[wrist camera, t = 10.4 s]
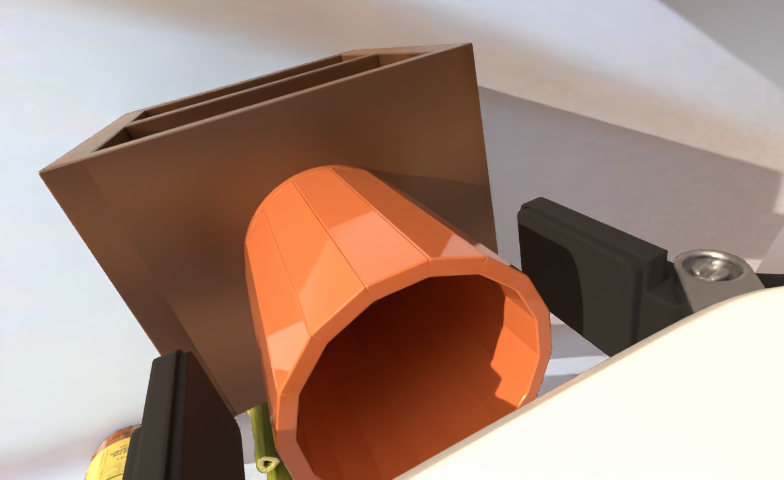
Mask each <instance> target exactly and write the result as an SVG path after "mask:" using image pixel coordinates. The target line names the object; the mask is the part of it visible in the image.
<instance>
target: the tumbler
mask: <svg viewBox="0 0 784 480" xmlns="http://www.w3.org/2000/svg"><path fill="white" fill-rule="evenodd" d="M244 257H245V276H246V282H247V288H248V293H249V299H250V305H251V311H252V316H253V322H254V328H255V334H256V340H257V345H258V351H259V357H260V363H261V368H262V374H263V380H264V386H265V392H266V397H267V403H268V409H269V415H270V420H271V426H272V432H273V438H274V444H275V448H276V450H277V452H278V454H279V455H280V457H281V459H282V461H283V462H284V464H285V466H286V468H287V469H288V471H289V473H290V475H291V476H292V478H293V480H393V479H395V478H396V477H398V476H400V475H402V474H403V473H405V472H407V471H409V470H410V469H412V468H414V467H416V466H417V465H419V464H421V463H423V462H425V461H426V460H428V459H430V458H432V457H433V456H435V455H437V454H439V453H440V452H442V451H444V450H446V449H447V448H449V447H451V446H453V445H455V444H456V443H458V442H460V441H462V440H463V439H465V438H467V437H469V436H471V435H472V434H474V433H476V432H478V431H480V430H481V429H483V428H485V427H487V426H488V425H490V424H492V423H494V422H496V421H497V420H499V419H501V418H503V417H504V416H506V415H508V414H510V413H512V412H513V411H515V410H517V409H519V408H521V407H522V406H524V405H526V404H528V403H530V402H531V401H533V400H534V399H535V398H536V396H537V393H538V392H539V390H540V387H541V384H542V380H543V377H544V374H545V371H546V368H547V365H548V362H549V359H550V356H551V351H552V344H551V327H550V312H549V308H548V307H547V305H546V304H545V302H544V300H543V299H542V297H541V296H540V294H539V292H538V291H537V289H536V288H535V286H534V284H533V283H532V281H531V280H530V278H529V277H528V276H527V275H526V274H525V273H523V272H522V271H520V270H519V269H517V268H516V267H514V266H513V265H511V264H510V263H509V262H507V261H506V260H504V259H503V258H501V257H500V256H498V255H497V254H495V253H494V252H492V251H491V250H489V249H488V248H486V247H485V246H483V245H482V244H480V243H479V242H478V241H476V240H475V239H473V238H472V237H470V236H469V235H467V234H466V233H464V232H463V231H461V230H460V229H458V228H457V227H455V226H454V225H452V224H451V223H449V222H448V221H447V220H445V219H444V218H442V217H441V216H439V215H438V214H436V213H435V212H433V211H432V210H430V209H429V208H427V207H426V206H424V205H423V204H421V203H420V202H418V201H417V200H416V199H414V198H413V197H411V196H410V195H408V194H407V193H405V192H404V191H402V190H401V189H399V188H398V187H396V186H395V185H393V184H391V183H390V182H388V181H386V180H384V179H382V178H381V177H379V176H377V175H376V174H374V173H372V172H369V171H367V170H365V169H361V168H358V167H354V166H346V165H328V166H320V167H316V168H312V169H309V170H306V171H303V172H301V173H299V174H296V175H294V176H293V177H291V178H289V179H287V180H286V181H284V182H283V183H282V184H280V185H279V186H278V187H276V188H275V189H274V190H273V191H272V192H271V193H270V194H269V195H268V196H267V197H266V198H265V199H264V201H263V202H262V203H261V205H260V206H259V207H258V209H257V211H256V212H255V214H254V216H253V218H252V220H251V222H250V225H249V227H248V231H247V235H246V239H245V248H244Z"/></svg>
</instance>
